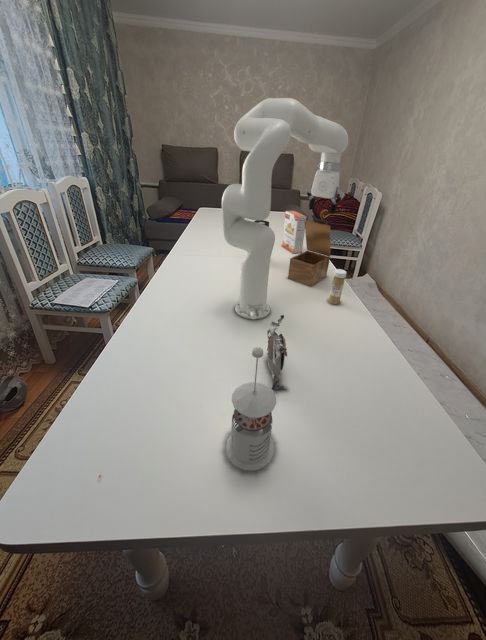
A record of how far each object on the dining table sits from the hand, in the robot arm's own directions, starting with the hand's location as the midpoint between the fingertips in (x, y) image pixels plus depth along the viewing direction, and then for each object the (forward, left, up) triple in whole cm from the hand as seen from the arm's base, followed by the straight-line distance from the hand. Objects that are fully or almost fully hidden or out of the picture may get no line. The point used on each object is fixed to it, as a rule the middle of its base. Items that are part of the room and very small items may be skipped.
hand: (321, 211), depth 124 cm
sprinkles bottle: (-26, -1, -30) cm, 40 cm away
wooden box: (-2, +2, -30) cm, 30 cm away
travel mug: (+20, +21, -30) cm, 42 cm away
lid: (+1, -1, -13) cm, 13 cm away
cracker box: (+38, -2, -30) cm, 49 cm away
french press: (-83, +42, -30) cm, 98 cm away
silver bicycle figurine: (-62, +32, -30) cm, 76 cm away
